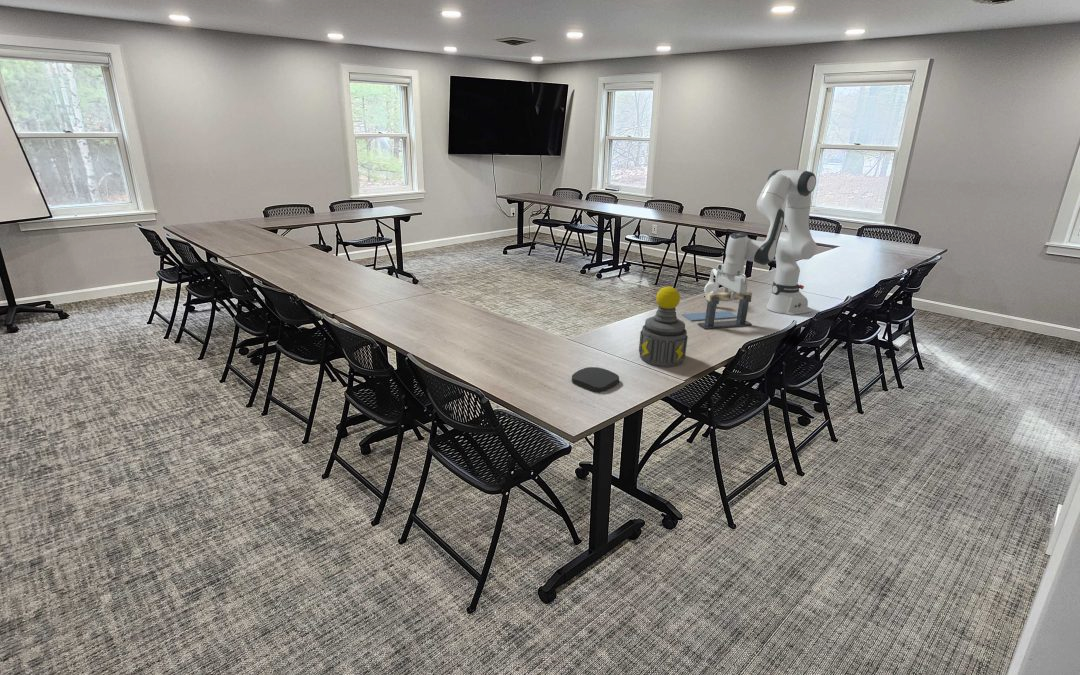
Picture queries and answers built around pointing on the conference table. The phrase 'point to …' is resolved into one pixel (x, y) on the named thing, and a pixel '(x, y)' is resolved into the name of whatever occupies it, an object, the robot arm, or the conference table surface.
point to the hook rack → (726, 324)
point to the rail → (726, 296)
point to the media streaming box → (595, 379)
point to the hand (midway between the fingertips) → (728, 297)
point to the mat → (702, 316)
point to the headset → (711, 284)
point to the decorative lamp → (664, 332)
